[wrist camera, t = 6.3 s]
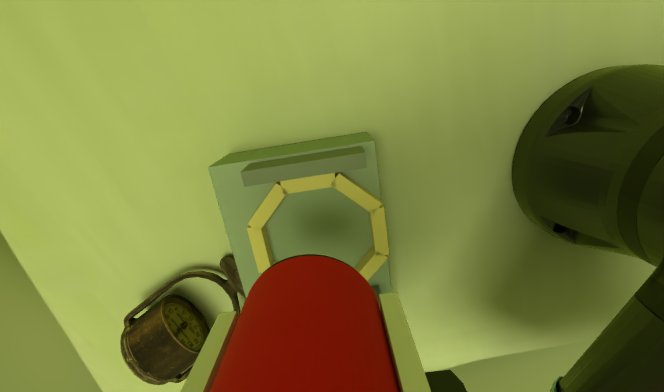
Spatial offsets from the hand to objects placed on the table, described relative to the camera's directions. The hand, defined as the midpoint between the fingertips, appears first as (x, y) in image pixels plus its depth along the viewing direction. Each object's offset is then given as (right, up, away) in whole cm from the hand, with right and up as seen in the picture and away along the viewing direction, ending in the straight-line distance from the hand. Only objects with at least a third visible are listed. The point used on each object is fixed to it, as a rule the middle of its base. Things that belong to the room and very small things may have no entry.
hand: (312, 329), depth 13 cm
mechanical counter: (-12, -5, +19) cm, 23 cm away
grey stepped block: (-1, +2, +16) cm, 16 cm away
